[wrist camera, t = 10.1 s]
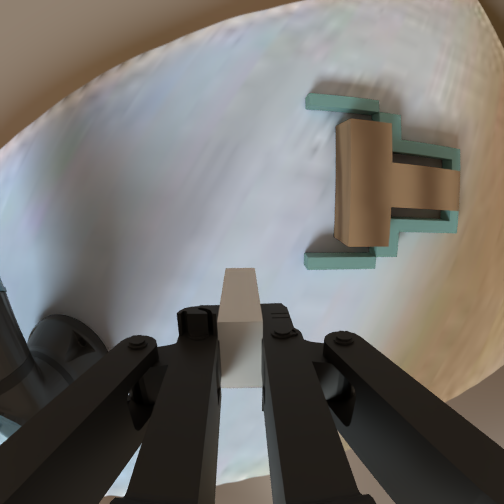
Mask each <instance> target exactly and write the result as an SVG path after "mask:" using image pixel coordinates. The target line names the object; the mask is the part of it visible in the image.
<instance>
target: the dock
mask: <svg viewBox="0 0 504 504" xmlns="http://www.w3.org/2000/svg"><path fill="white" fill-rule="evenodd" d="M305 100H306V109H307V110H323V111H335V112H346V113H356V114H365V115H372V121H378V122H385V123H392V153H394V154H403V155H411V156H419V157H427V158H434V159H440V160H442V169H449V170H456V171H460V149H456V148H450V147H445V146H439V145H433V144H427V143H421V142H414V141H407V140H401V115H396V114H390V113H383V112H379V101H378V100H371V99H364V98H356V97H347V96H337V95H326V94H314V93H309V94H308V95H307V97H306V98H305ZM459 193H460V192H459ZM458 212H459V211H449V210H441V215H440V219H434V218H411V217H391V221H390V236H389V247H369V252H359V253H304V265H305V267H306V268H307V270H327V269H375V264H376V257H397V250H398V238H399V232H427V233H457V225H458Z"/></svg>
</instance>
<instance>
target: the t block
mask: <svg viewBox="0 0 504 504" xmlns="http://www.w3.org/2000/svg"><path fill="white" fill-rule="evenodd" d="M459 192H460V171H456V170H449V169H442V168H435V167H427V166H419V165H410V164H401V163H392V123H385V122H378V121H369V120H360V119H351V118H350V119H349V120H347V121H345V122H343V123H341V124H339V125H337V126H336V192H335V225H334V237H335V238H336V239H338V240H339V241H341V242H342V243H344V244H345V245H346V246H348V247H389V236H390V221H391V207H398V208H417V209H434V210H449V211H459Z"/></svg>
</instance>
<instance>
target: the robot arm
mask: <svg viewBox="0 0 504 504" xmlns="http://www.w3.org/2000/svg"><path fill="white" fill-rule="evenodd" d="M6 292H7V291H6V288H5V287H4V286H3V283H2V281H1V278H0V504H99V502H100V501H101V500H102V498H103V497H104V495H105V494H106V493H107V491H108V490H109V488H110V487H111V486H112V484H113V483H114V482H115V480H116V479H117V477H118V476H119V475H120V473H121V472H122V470H123V469H124V467H125V466H126V465H127V463H128V462H129V460H130V459H131V458H132V456H133V455H134V453H135V452H136V451H137V449H138V448H139V446H140V445H141V443H142V445H141V448H140V451H139V454H138V457H137V460H136V463H135V467H134V470H133V473H132V476H131V479H130V483H129V486H128V489H127V492H126V494H125V496H124V497H123V498H114V499H113V500H112V501H111V502H110V504H215V488H216V471H217V455H218V439H219V424H220V409H221V388H262V411H264V417H265V427H266V438H267V448H268V458H269V468H270V478H271V488H272V497H273V504H376V503H375V501H374V499H373V498H372V497H371V496H370V495H369V494H366V495H362V494H361V493H360V492H359V490H358V488H357V485H356V482H355V479H354V476H353V474H352V471H351V468H350V465H349V462H348V460H347V457H346V454H345V451H344V448H343V445H342V443H341V440H340V437H339V434H338V431H339V433H340V434H341V435H342V437H343V438H344V439H345V441H346V442H347V443H348V444H349V446H350V447H351V448H352V450H353V451H354V452H355V453H356V455H357V456H358V457H359V459H360V460H361V461H362V462H363V464H364V465H365V466H366V467H367V468H368V470H369V471H370V472H371V474H372V475H373V476H374V477H375V479H376V480H377V481H378V482H379V484H380V485H381V486H382V487H383V489H384V490H385V491H386V492H387V494H388V495H389V496H390V497H391V499H392V500H393V501H394V502H395V503H396V504H504V449H503V448H502V447H500V446H499V445H498V444H497V443H495V442H494V441H493V440H491V439H490V438H489V437H488V436H486V435H485V434H484V433H483V432H481V431H480V430H479V429H478V428H476V427H475V426H474V425H472V424H471V423H470V422H469V421H467V420H466V419H465V418H464V417H462V416H461V415H460V414H458V413H457V412H456V411H455V410H453V409H452V408H451V407H449V406H448V405H447V404H446V403H444V402H443V401H442V400H441V399H439V398H438V397H437V396H435V395H434V394H433V393H432V392H430V391H429V390H428V389H427V388H425V387H424V386H423V385H421V384H420V383H419V382H418V381H416V380H415V379H414V378H413V377H411V376H410V375H409V374H407V373H406V372H405V371H404V370H402V369H401V368H400V367H399V366H397V365H396V364H395V363H393V362H392V361H391V360H390V359H388V358H387V357H386V356H384V355H383V354H382V353H381V352H379V351H378V350H377V349H376V348H374V347H373V346H372V345H370V344H369V343H368V342H367V341H365V340H364V339H363V338H362V337H360V336H358V335H357V334H355V333H351V332H349V331H345V332H344V331H339V332H332V333H329V334H328V335H326V336H325V339H324V343H316V342H310V341H306V340H304V339H303V336H302V333H301V332H300V331H299V330H297V329H295V328H294V326H293V323H292V321H291V318H290V315H289V312H288V309H287V307H285V306H284V305H283V304H281V303H271V304H260V299H259V293H258V286H257V280H256V274H255V268H226V270H225V276H224V282H223V288H222V295H221V301H220V305H200V306H195V307H188V308H184V309H182V310H180V311H179V312H178V313H177V320H178V330H179V337H178V340H177V343H175V344H172V345H167V346H161V347H157V343H156V340H155V339H154V338H152V337H149V336H142V335H137V336H136V335H135V336H132V337H129V338H126V339H124V340H123V341H121V342H120V343H119V344H117V345H116V346H115V347H114V348H113V349H112V350H110V351H109V352H108V351H107V349H106V348H105V346H104V344H103V343H102V341H101V340H100V339H99V338H98V336H97V335H96V334H95V333H94V332H93V331H92V330H91V329H90V328H88V327H87V326H86V325H85V324H83V323H82V322H80V321H78V320H76V319H74V318H72V317H69V316H65V315H52V316H48V317H46V318H45V319H43V320H42V321H41V322H39V323H38V324H37V325H36V326H35V327H34V328H33V330H32V331H31V333H30V336H29V339H28V342H27V343H26V341H25V339H24V337H23V334H22V332H21V330H20V328H19V325H18V323H17V320H16V318H15V316H14V313H13V310H12V308H11V305H10V302H9V300H8V297H7V294H6ZM128 393H129V395H128ZM337 430H338V431H337Z"/></svg>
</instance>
